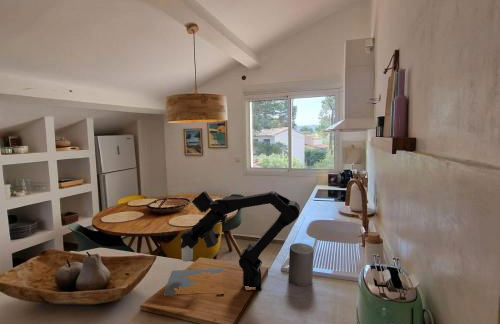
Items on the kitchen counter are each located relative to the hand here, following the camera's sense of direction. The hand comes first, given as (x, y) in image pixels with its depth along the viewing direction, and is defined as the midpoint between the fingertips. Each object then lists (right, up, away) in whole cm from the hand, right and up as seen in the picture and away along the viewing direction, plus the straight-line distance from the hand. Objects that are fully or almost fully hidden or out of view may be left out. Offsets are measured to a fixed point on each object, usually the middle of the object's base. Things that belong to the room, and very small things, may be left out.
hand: (184, 245), depth 112 cm
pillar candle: (+47, -14, 0) cm, 50 cm away
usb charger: (+1, -6, 0) cm, 6 cm away
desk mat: (+6, -14, -3) cm, 15 cm away
